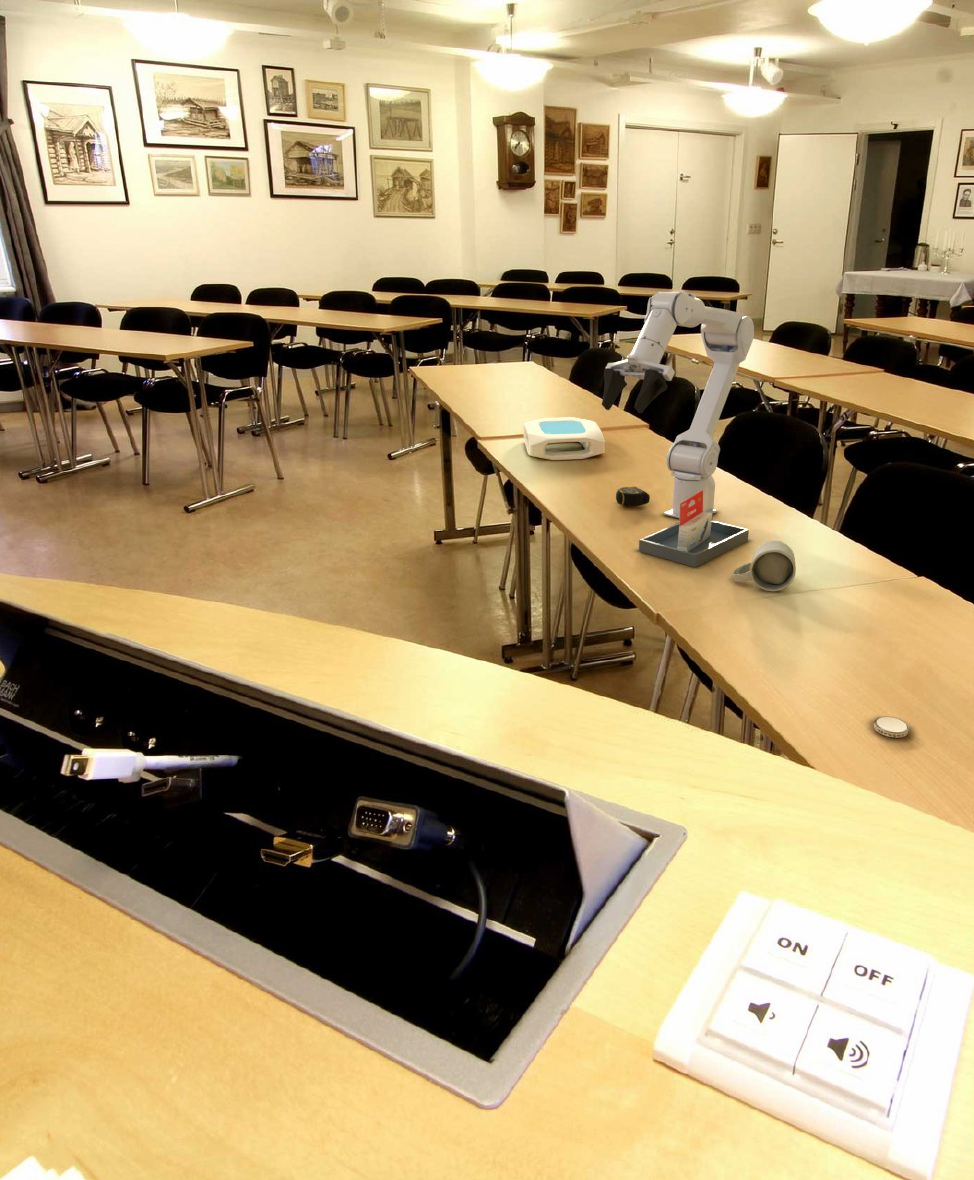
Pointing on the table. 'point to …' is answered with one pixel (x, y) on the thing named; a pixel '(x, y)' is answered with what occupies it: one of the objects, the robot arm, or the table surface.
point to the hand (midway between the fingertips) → (621, 408)
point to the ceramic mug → (769, 567)
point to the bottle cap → (891, 727)
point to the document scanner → (563, 437)
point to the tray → (716, 544)
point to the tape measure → (632, 496)
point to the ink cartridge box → (693, 523)
